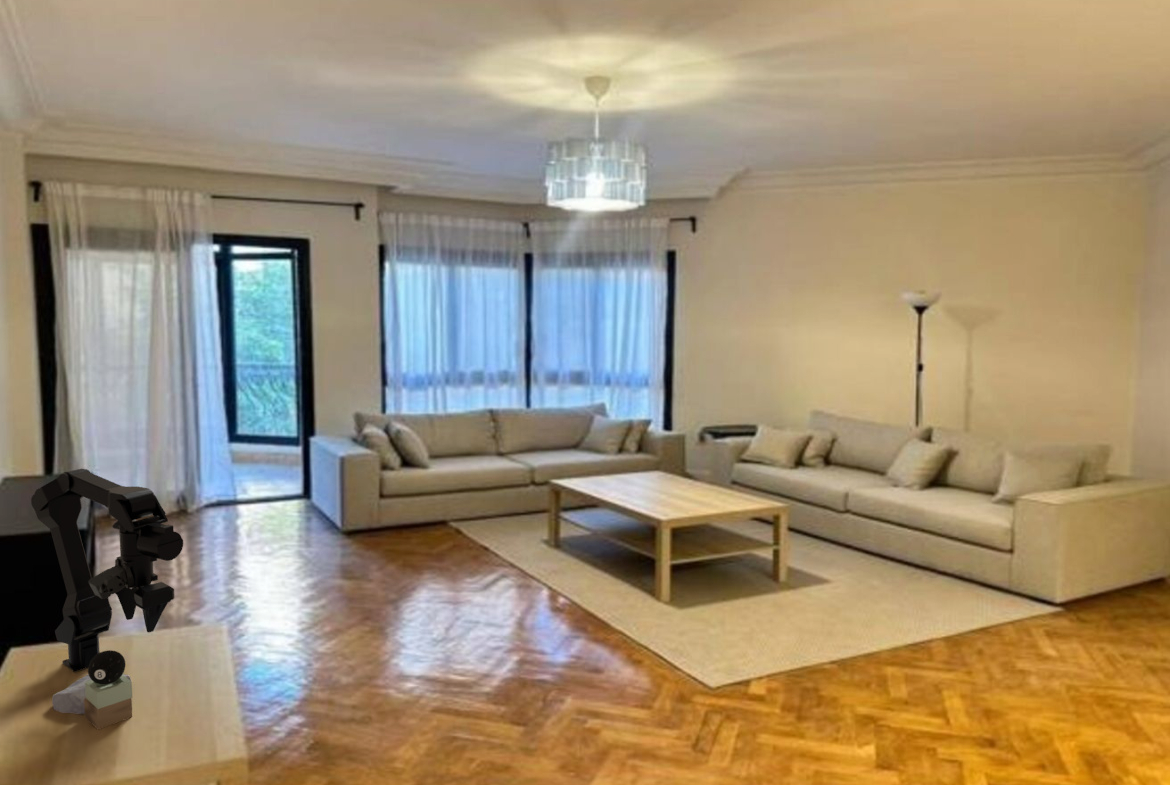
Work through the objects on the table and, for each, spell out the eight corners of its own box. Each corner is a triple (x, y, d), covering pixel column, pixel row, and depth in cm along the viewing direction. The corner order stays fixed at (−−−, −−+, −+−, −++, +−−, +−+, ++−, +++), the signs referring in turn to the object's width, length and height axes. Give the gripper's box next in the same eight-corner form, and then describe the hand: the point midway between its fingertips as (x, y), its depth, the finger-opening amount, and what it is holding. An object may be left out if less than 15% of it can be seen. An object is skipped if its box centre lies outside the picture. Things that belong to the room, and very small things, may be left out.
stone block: (47, 720, 159) (91, 716, 157) (42, 696, 158) (87, 692, 156) (95, 692, 170) (136, 689, 168) (90, 670, 170) (132, 666, 168)
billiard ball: (131, 674, 159) (129, 644, 158) (117, 689, 153) (116, 659, 152) (98, 675, 158) (96, 645, 158) (83, 690, 153) (81, 659, 152)
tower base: (85, 718, 156) (83, 698, 156) (118, 706, 161) (117, 687, 160) (98, 729, 153) (97, 709, 152) (132, 717, 157) (131, 697, 157)
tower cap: (85, 697, 156) (84, 681, 156) (119, 686, 161) (119, 671, 160) (97, 709, 152) (96, 692, 152) (132, 697, 157) (131, 681, 156)
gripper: (73, 550, 166) (77, 624, 168) (114, 573, 154) (118, 652, 156) (131, 538, 174) (134, 608, 176) (174, 558, 163) (177, 633, 165)
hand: (139, 625), depth 168 cm, fingers open, 9 cm apart
